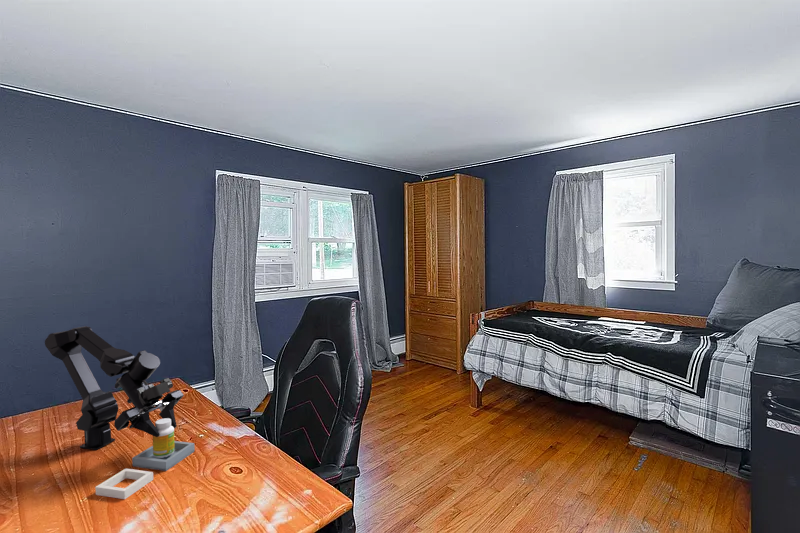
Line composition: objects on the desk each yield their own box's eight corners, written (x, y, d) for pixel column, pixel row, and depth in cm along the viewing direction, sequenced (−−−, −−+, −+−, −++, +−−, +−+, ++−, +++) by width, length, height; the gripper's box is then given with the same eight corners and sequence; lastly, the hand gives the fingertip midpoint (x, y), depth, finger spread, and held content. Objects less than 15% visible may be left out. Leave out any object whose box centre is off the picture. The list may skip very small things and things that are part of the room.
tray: (132, 466, 113) (132, 457, 113) (163, 447, 124) (163, 439, 124) (166, 471, 111) (166, 462, 111) (194, 451, 122) (194, 443, 122)
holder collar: (95, 494, 100) (95, 486, 100) (126, 475, 109) (125, 468, 109) (124, 499, 99) (124, 491, 98) (153, 479, 107) (153, 472, 107)
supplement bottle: (171, 457, 116) (170, 424, 115) (150, 459, 114) (149, 425, 114) (177, 448, 121) (176, 416, 120) (157, 450, 120) (156, 417, 119)
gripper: (120, 382, 109) (152, 429, 106) (178, 363, 126) (207, 403, 124) (100, 407, 112) (131, 453, 109) (159, 385, 129) (187, 424, 126)
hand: (167, 431), depth 117 cm, fingers closed on supplement bottle, 5 cm apart
